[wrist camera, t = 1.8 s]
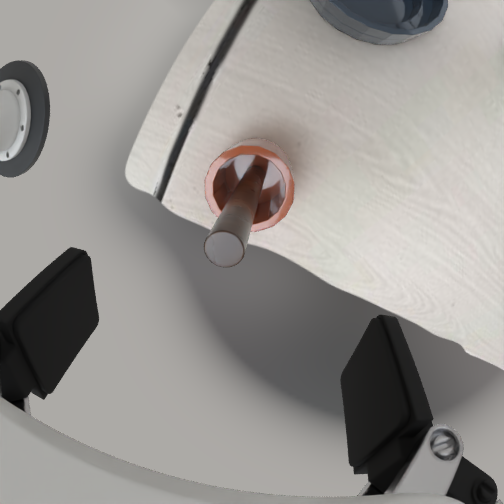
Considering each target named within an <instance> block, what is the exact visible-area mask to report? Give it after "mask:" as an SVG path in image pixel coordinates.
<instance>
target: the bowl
mask: <svg viewBox="0 0 504 504" xmlns="http://www.w3.org/2000/svg"><path fill="white" fill-rule="evenodd" d="M310 1H311V3H312V4H313V5H314V7H315V8H316V9H317V11H318V12H319V14H320V15H321V16H322V17H323V18H324V19H326V20H327V21H328V22H329V23H330V24H332V25H333V26H334V27H335V28H336V29H338V30H340V31H342V32H344V33H346V34H348V35H350V36H351V37H353V38H355V39H358V40H362V41H366V42H370V43H373V44H398V43H401V42H404V41H407V40H410V39H413V38H415V37H417V36H419V35H421V34H424V33H426V32H428V31H430V30H432V29H433V28H434V27H435V26H437V25H438V24H439V23H440V22H441V21H442V20H443V18H444V15H445V13H446V10H447V8H448V0H310Z"/></svg>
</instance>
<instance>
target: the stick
mask: <svg viewBox="0 0 504 504" xmlns="http://www.w3.org/2000/svg"><path fill="white" fill-rule="evenodd" d="M264 180H265V172H264V170H263V169H262V168H261V167H260V166H256V165H254V166H250V167H249V168H248V169H247V170H246V172H245V173H244V175H243V177H242V178H241V180H240V182H239V183H238V185H237V187H236V188H235V190H234V192H233V193H232V195H231V197H230V198H229V200H228V202H227V203H226V205H225V207H224V209H223V210H222V212H221V214H220V215H219V217H218V219H217V221H216V222H215V224H214V226H213V228H212V229H211V231H210V233H209V235H208V236H207V238H206V240H205V243H204V251H205V254H206V256H207V258H208V259H209V260H210V261H211V262H212V263H213V264H215V265H217V266H220V267H232V266H235V265H237V264H238V263H239V262H240V261H241V260H242V259H243V257H244V254H245V250H246V246H247V242H248V239H249V235H250V231H251V228H252V224H253V220H254V217H255V213H256V209H257V206H258V202H259V198H260V195H261V191H262V187H263V184H264Z"/></svg>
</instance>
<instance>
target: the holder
mask: <svg viewBox="0 0 504 504" xmlns="http://www.w3.org/2000/svg"><path fill="white" fill-rule="evenodd" d="M254 165H256V166H260V167H261V168H262V169H263V170H264V172H265V180H264V184H263V187H262V191H261V195H260V198H259V202H258V206H257V209H256V213H255V217H254V220H253V224H252V228H251V232H256V231H260V230H263V229H267V228H270V227H272V226H274V225H275V224H277V223H278V222H279V221H280V220H281V219H283V218H284V217H285V216H286V214H287V213H288V211H289V209H290V207H291V205H292V203H293V200H294V187H295V184H294V177H293V169H292V167H291V163H290V161H289V158H288V156H287V155H286V153H285V152H284V151H283V150H282V149H281V148H280V147H279V146H278V145H276V144H275V143H273V142H271V141H268V140H265V139H259V138H251V139H246V140H243V141H240V142H238V143H236V144H234V145H233V146H231V147H230V148H228V149H227V150H226V151H224V152H223V153H222V154H221V155H220V156H219V157H218V158H217V159H216V160H215V161H214V162H213V163H212V164H211V166H210V168H209V171H208V173H207V176H206V178H205V196H206V200H207V202H208V204H209V206H210V209H211V211H212V212H213V213H214V214H215V215H216V216H217V217H219V215H220V214H221V212H222V210H223V209H224V207H225V205H226V203H227V202H228V200H229V198H230V197H231V195H232V193H233V192H234V190H235V188H236V187H237V185H238V183H239V182H240V180H241V178H242V177H243V175H244V173H245V172H246V170H247V169H248V168H249V167H250V166H254Z"/></svg>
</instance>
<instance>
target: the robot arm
mask: <svg viewBox="0 0 504 504" xmlns="http://www.w3.org/2000/svg"><path fill="white" fill-rule="evenodd" d="M30 122H31V106H30V100H29V96H28V93H27V91H26V88H25V87H24V86H23V84H22V83H21V82H19V81H17V80H15V79H10V80H4V81H2V82H0V161H7V160H10V159H12V158H14V157H16V156H17V155H18V154H19V153H20V152H21V150H22V149H23V147H24V145H25V143H26V140H27V137H28V134H29V129H30ZM98 322H99V315H98V309H97V303H96V296H95V290H94V281H93V274H92V265H91V258H90V257H89V256H88V254H87V252H86V251H84V250H81V249H77V248H73V247H71V248H69V249H67V250H66V251H65V252H64V253H63V254H61V255H60V256H59V257H58V258H57V259H56V260H54V261H53V262H52V263H51V264H50V265H48V266H47V267H46V268H45V269H44V270H43V271H42V272H40V273H39V274H38V275H37V276H36V277H35V278H34V279H33V280H32V281H31V282H29V283H28V284H27V285H26V286H25V287H24V288H23V289H22V290H21V291H20V292H19V293H18V294H17V295H16V296H15V297H13V298H12V300H10V301H9V302H8V303H7V304H6V305H5V306H4V307H3V308H2V309H1V310H0V504H503V503H502V502H501V500H498V501H496V500H497V486H496V483H495V482H494V480H493V479H492V478H491V477H490V476H489V475H487V474H486V473H484V472H483V471H482V470H480V469H479V468H478V467H476V466H475V465H474V464H472V463H471V462H469V461H468V460H467V459H465V458H464V457H463V456H462V455H463V450H464V448H463V441H462V439H461V436H460V435H459V434H458V432H457V431H456V430H454V428H452V427H450V426H448V425H445V424H438V425H434V426H433V424H432V420H433V416H432V414H431V410H430V407H429V404H428V400H427V397H426V394H425V392H424V388H423V386H422V382H421V379H420V377H419V374H418V371H417V368H416V366H415V363H414V360H413V358H412V355H411V352H410V350H409V347H408V344H407V342H406V339H405V337H404V334H403V332H402V329H401V327H400V325H399V322H398V320H397V318H396V317H392V316H386V315H379V316H377V318H373V319H372V320H371V321H370V323H369V325H368V327H367V329H366V331H365V333H364V335H363V337H362V338H361V340H360V342H359V344H358V346H357V348H356V349H355V351H354V353H353V355H352V356H351V358H350V360H349V362H348V364H347V365H346V367H345V369H344V370H343V372H342V375H341V389H342V397H343V405H344V414H345V424H346V434H347V445H348V457H349V464H350V466H353V467H354V474H368V483H367V484H366V485H365V487H364V488H363V489H362V490H361V492H360V493H359V495H357V496H352V497H304V496H285V495H273V494H263V493H254V492H246V491H240V490H234V489H228V488H221V487H217V486H211V485H207V484H202V483H198V482H193V481H189V480H185V479H181V478H177V477H173V476H169V475H166V474H163V473H159V472H156V471H153V470H150V469H147V468H144V467H140V466H137V465H135V464H132V463H129V462H126V461H124V460H121V459H118V458H115V457H113V456H111V455H108V454H106V453H104V452H101V451H99V450H96V449H94V448H92V447H90V446H87V445H85V444H83V443H81V442H79V441H76V440H75V439H73V438H70V437H68V436H66V435H64V434H62V433H61V432H59V431H57V430H55V429H53V428H51V427H49V426H48V425H46V424H44V423H42V422H40V421H39V420H37V419H35V418H34V417H32V416H31V412H30V406H29V399H28V395H29V394H30V392H32V393H33V394H35V395H37V396H38V397H40V398H42V399H45V398H46V396H47V394H51V393H52V392H53V391H54V389H55V388H56V386H57V385H58V383H59V381H60V380H61V378H62V377H63V375H64V374H65V372H66V371H67V369H68V368H69V366H70V365H71V363H72V362H73V360H74V359H75V357H76V355H77V354H78V353H79V351H80V350H81V348H82V347H83V346H84V344H85V343H86V341H87V340H88V338H89V337H90V335H91V334H92V333H93V331H94V330H95V328H96V327H97V325H98Z"/></svg>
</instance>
